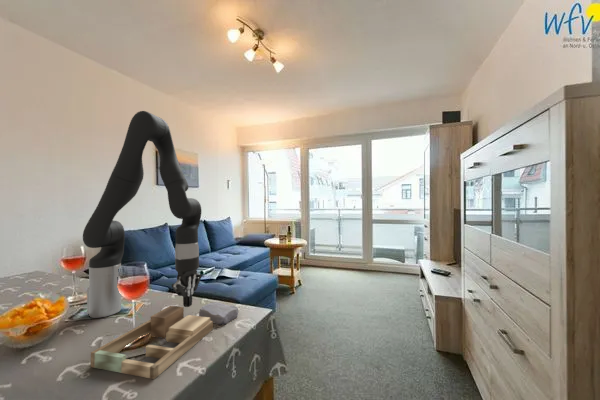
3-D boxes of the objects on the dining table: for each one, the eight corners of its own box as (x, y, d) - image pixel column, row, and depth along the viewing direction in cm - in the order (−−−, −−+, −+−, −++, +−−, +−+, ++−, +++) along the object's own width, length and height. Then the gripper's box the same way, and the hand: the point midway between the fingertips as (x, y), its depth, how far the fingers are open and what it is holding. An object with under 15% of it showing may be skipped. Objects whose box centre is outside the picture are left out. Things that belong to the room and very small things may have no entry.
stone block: (217, 313, 94) (195, 319, 86) (219, 300, 95) (198, 304, 87) (241, 321, 89) (221, 328, 80) (243, 307, 90) (223, 312, 81)
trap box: (90, 367, 61) (90, 352, 61) (163, 322, 83) (163, 312, 83) (154, 379, 56) (154, 363, 57) (212, 329, 79) (212, 317, 79)
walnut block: (150, 336, 75) (150, 316, 75) (170, 324, 83) (170, 305, 83) (164, 338, 74) (164, 318, 74) (183, 325, 81) (183, 307, 81)
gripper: (190, 251, 94) (190, 298, 94) (163, 259, 81) (164, 313, 81) (208, 252, 93) (208, 299, 92) (183, 260, 80) (184, 315, 79)
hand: (187, 306), depth 87 cm, fingers closed
